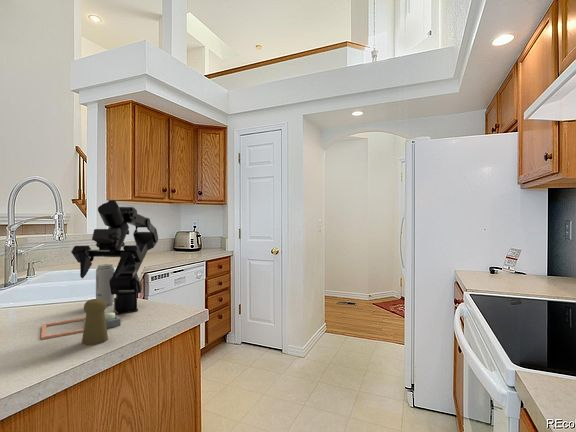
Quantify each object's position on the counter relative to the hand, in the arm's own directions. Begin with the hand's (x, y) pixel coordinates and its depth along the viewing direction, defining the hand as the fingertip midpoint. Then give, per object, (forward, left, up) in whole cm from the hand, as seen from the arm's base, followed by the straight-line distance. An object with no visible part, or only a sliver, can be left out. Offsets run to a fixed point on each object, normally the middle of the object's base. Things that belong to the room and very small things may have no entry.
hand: (98, 277), depth 91 cm
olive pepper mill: (+1, +8, -16) cm, 18 cm away
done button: (-4, -4, -16) cm, 16 cm away
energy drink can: (-6, -30, -16) cm, 34 cm away
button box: (-4, -4, -16) cm, 16 cm away
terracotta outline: (+6, -8, -16) cm, 19 cm away
